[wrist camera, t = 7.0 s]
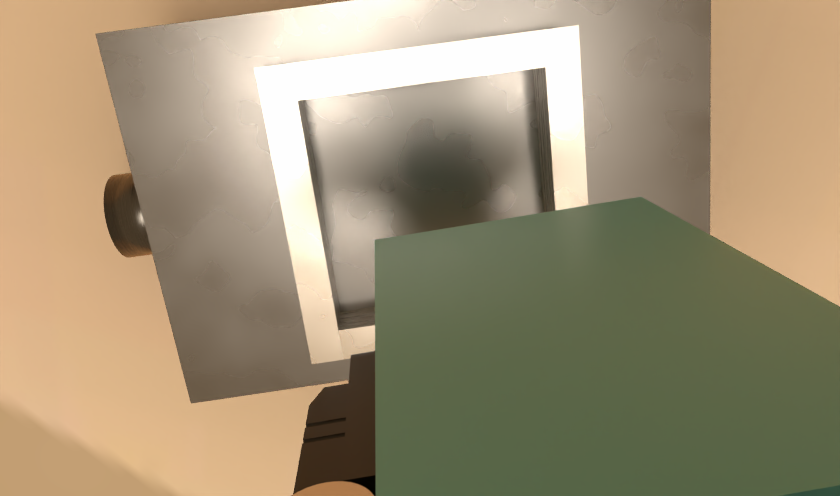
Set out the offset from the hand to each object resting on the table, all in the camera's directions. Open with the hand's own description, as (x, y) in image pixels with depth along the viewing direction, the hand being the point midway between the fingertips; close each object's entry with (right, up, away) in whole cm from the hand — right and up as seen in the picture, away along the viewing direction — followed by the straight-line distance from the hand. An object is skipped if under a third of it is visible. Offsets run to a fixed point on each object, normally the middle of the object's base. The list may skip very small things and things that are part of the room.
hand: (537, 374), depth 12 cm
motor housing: (-2, +6, +16) cm, 17 cm away
